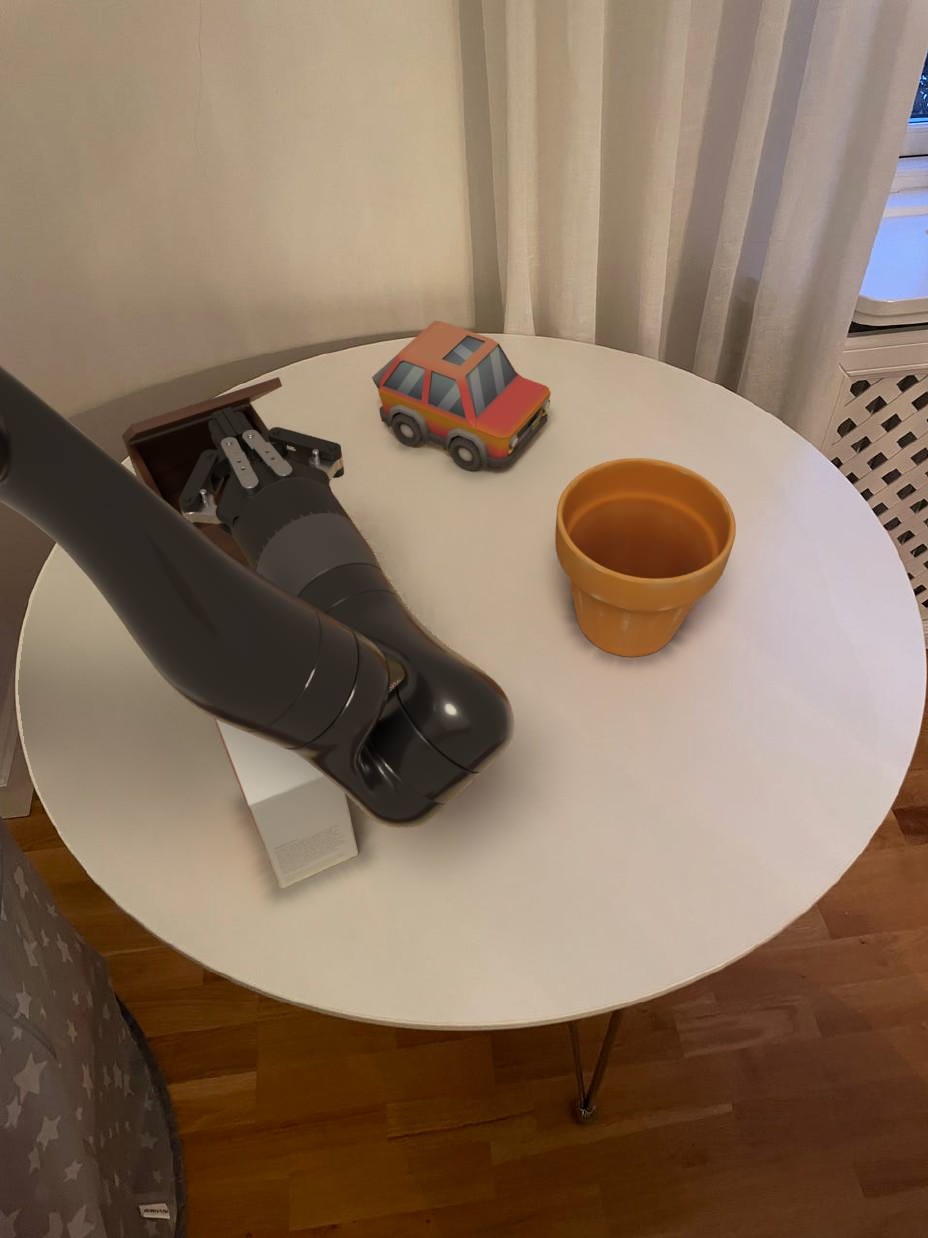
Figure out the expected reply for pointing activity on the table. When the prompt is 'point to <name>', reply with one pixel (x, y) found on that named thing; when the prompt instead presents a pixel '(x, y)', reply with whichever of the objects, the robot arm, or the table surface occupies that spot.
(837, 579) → the table surface
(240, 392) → the lid
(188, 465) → the case
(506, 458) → the toy car
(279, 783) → the small box
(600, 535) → the flower pot
